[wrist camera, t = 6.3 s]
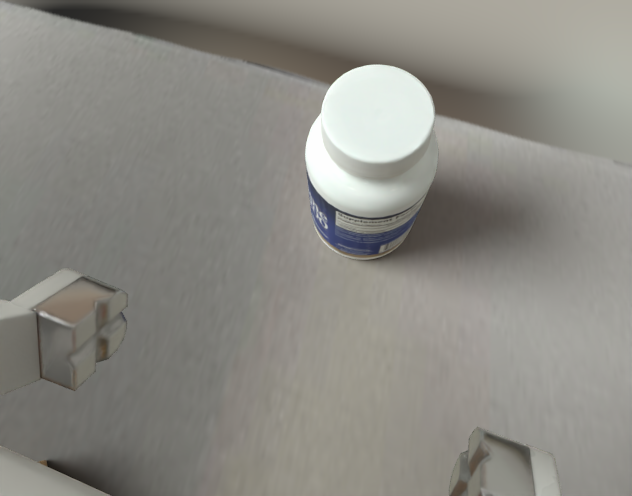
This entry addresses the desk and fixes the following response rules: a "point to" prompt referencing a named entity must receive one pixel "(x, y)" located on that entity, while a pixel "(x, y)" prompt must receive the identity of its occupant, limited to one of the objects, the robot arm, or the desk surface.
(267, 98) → the desk surface
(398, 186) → the pill bottle
